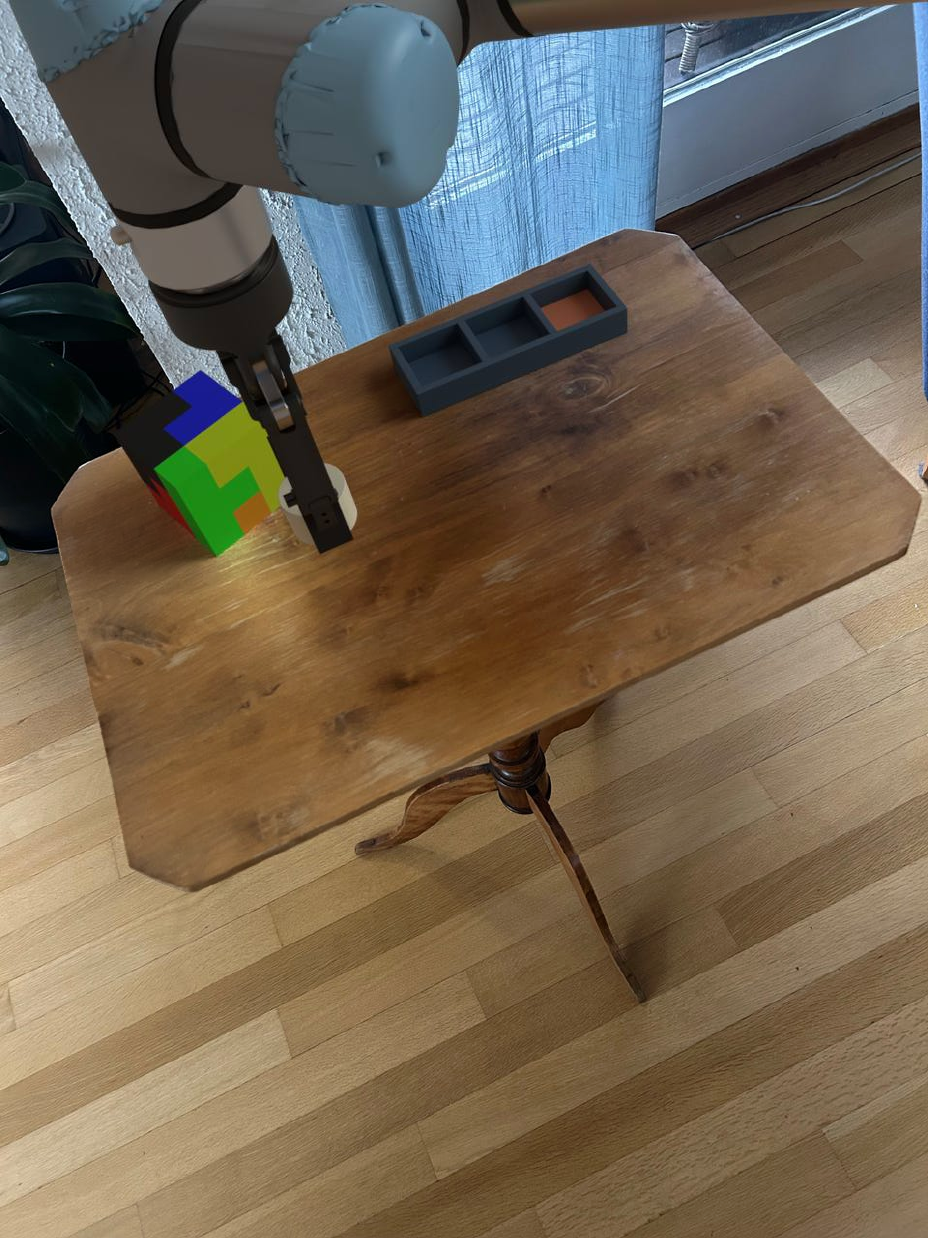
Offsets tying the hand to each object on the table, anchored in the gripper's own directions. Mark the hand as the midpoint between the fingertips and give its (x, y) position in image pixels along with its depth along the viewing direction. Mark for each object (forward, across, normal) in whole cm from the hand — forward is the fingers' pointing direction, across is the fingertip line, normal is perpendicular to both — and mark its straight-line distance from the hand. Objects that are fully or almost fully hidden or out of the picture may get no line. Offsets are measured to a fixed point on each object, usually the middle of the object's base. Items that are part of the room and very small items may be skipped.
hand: (322, 516), depth 74 cm
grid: (+14, -24, +25) cm, 37 cm away
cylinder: (0, 0, 0) cm, 0 cm away
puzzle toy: (+15, -20, -7) cm, 26 cm away
